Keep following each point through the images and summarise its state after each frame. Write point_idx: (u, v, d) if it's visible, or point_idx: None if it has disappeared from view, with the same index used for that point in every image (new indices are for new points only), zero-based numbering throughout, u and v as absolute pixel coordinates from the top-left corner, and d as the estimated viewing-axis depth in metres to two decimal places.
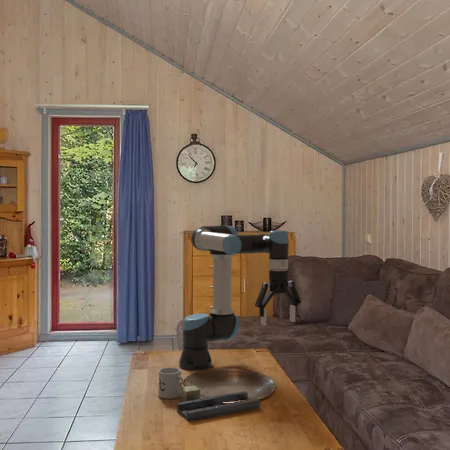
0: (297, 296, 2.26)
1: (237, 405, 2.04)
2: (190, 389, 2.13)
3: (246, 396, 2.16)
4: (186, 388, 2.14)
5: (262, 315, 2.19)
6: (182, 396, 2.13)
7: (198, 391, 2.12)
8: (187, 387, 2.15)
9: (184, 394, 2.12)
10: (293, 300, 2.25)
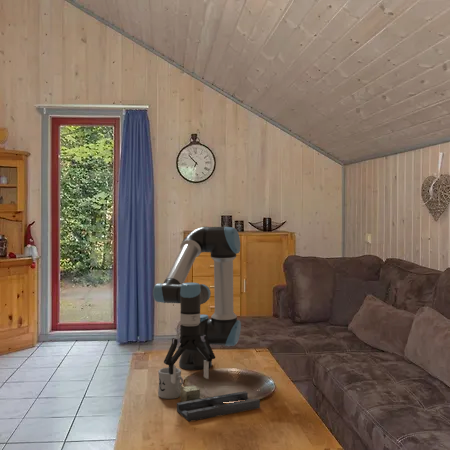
0: (211, 351, 2.16)
1: (237, 405, 2.04)
2: (190, 389, 2.13)
3: (246, 396, 2.16)
4: (186, 388, 2.14)
5: (171, 373, 2.09)
6: (182, 396, 2.13)
7: (198, 391, 2.12)
8: (187, 387, 2.15)
9: (184, 394, 2.12)
10: (206, 356, 2.15)
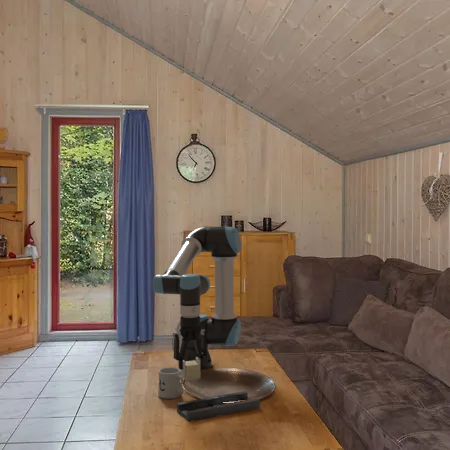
0: (205, 347, 2.15)
1: (237, 405, 2.04)
2: (191, 364, 2.12)
3: (246, 396, 2.16)
4: (186, 363, 2.14)
5: (181, 368, 2.11)
6: None
7: (199, 365, 2.12)
8: (188, 361, 2.15)
9: None
10: (199, 352, 2.14)
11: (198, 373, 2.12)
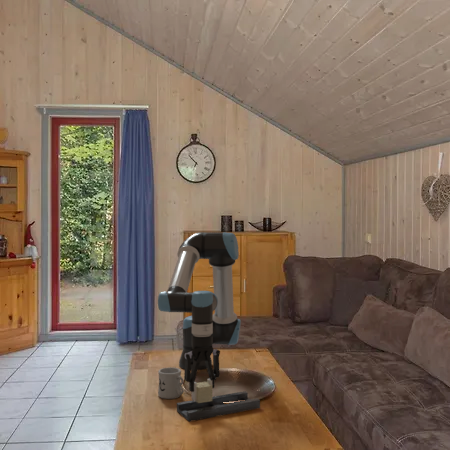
0: (217, 368, 2.04)
1: (237, 405, 2.04)
2: (202, 385, 2.02)
3: (246, 396, 2.16)
4: (198, 384, 2.03)
5: (192, 390, 2.01)
6: None
7: (211, 387, 2.02)
8: (199, 383, 2.04)
9: None
10: (212, 373, 2.03)
11: (210, 395, 2.02)
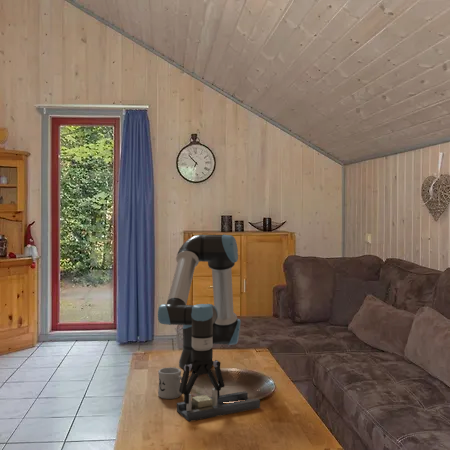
0: (221, 379, 2.05)
1: (237, 405, 2.04)
2: (202, 399, 2.02)
3: (246, 396, 2.16)
4: (198, 398, 2.03)
5: (187, 402, 2.00)
6: (194, 406, 2.03)
7: (210, 401, 2.02)
8: (199, 396, 2.05)
9: (196, 404, 2.01)
10: (216, 383, 2.04)
11: None
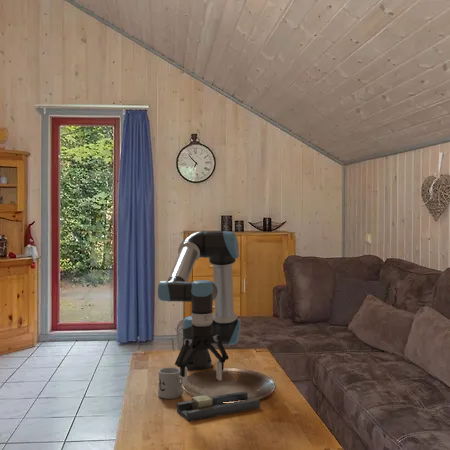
0: (224, 352, 2.06)
1: (237, 405, 2.04)
2: (202, 399, 2.02)
3: (246, 396, 2.16)
4: (198, 398, 2.03)
5: (183, 375, 1.99)
6: (194, 406, 2.03)
7: (210, 401, 2.02)
8: (199, 396, 2.05)
9: (195, 404, 2.01)
10: (219, 356, 2.05)
11: None
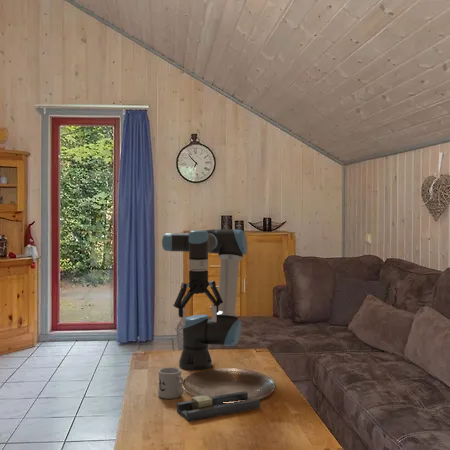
0: (218, 296, 2.25)
1: (237, 405, 2.04)
2: (202, 399, 2.02)
3: (246, 396, 2.16)
4: (198, 398, 2.03)
5: (181, 315, 2.18)
6: (194, 406, 2.03)
7: (210, 401, 2.02)
8: (199, 396, 2.05)
9: (195, 404, 2.01)
10: (214, 300, 2.24)
11: None
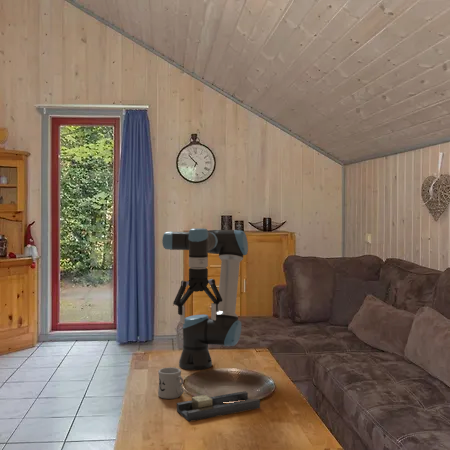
0: (218, 294, 2.26)
1: (237, 405, 2.04)
2: (202, 399, 2.02)
3: (246, 396, 2.16)
4: (198, 398, 2.03)
5: (180, 313, 2.19)
6: (194, 406, 2.03)
7: (210, 401, 2.02)
8: (199, 396, 2.05)
9: (196, 404, 2.01)
10: (214, 298, 2.25)
11: None
